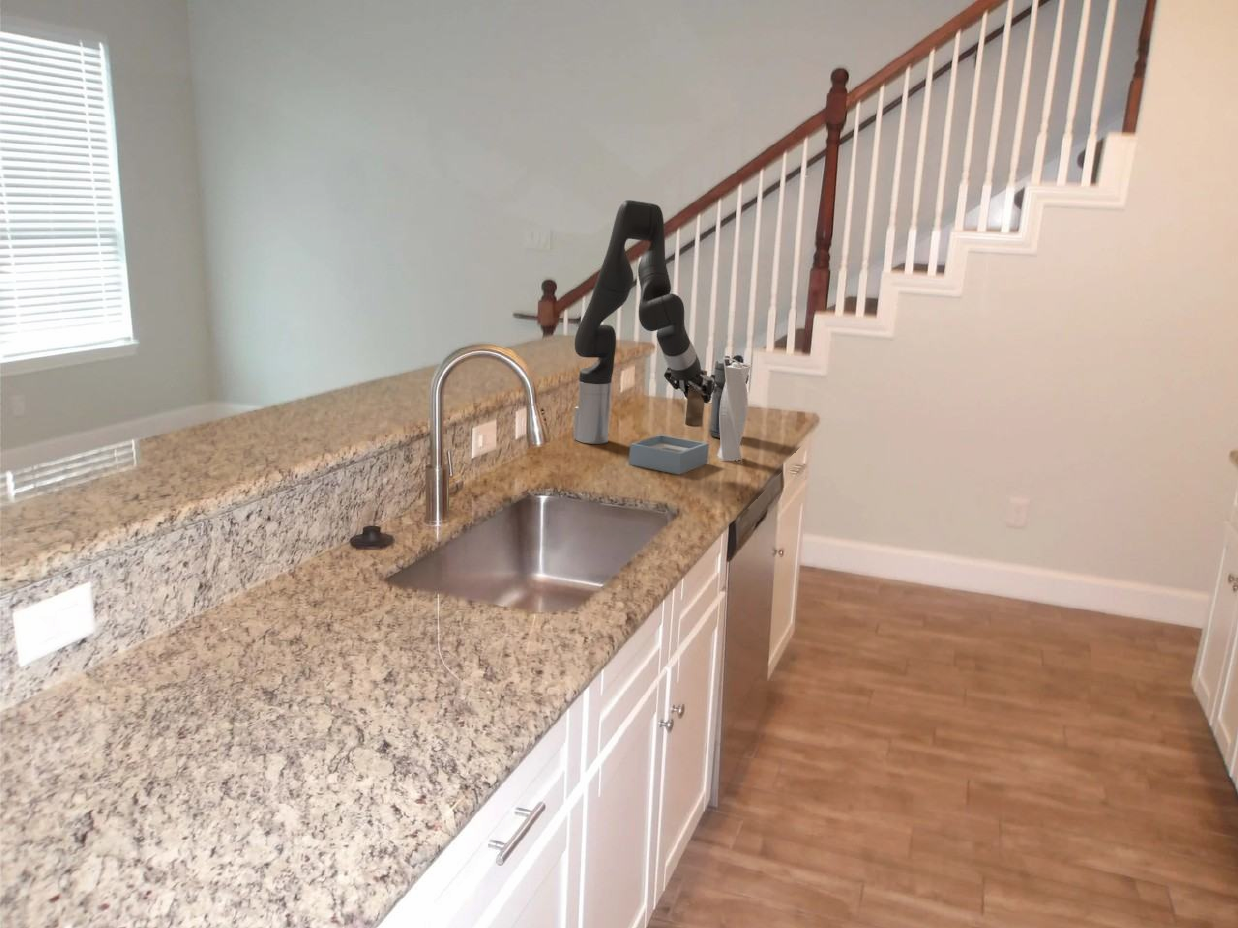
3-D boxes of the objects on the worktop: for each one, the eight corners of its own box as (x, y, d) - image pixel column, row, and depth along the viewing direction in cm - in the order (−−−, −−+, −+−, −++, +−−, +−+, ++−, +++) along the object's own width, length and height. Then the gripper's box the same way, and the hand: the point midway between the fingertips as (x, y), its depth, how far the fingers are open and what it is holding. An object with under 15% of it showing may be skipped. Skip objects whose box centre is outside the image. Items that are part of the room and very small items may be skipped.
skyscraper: (719, 462, 263) (728, 359, 256) (710, 455, 270) (718, 355, 263) (747, 462, 265) (756, 360, 258) (736, 455, 272) (745, 355, 265)
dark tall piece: (749, 435, 299) (757, 354, 293) (734, 442, 288) (742, 358, 282) (718, 430, 304) (725, 350, 298) (703, 437, 292) (709, 354, 286)
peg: (682, 424, 249) (686, 370, 245) (690, 421, 253) (694, 368, 249) (697, 427, 247) (702, 373, 243) (705, 424, 250) (710, 371, 247)
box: (628, 464, 255) (630, 443, 254) (658, 453, 269) (660, 434, 267) (679, 474, 248) (680, 453, 247) (707, 463, 261) (708, 443, 260)
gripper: (713, 349, 234) (729, 392, 248) (661, 341, 241) (680, 383, 255) (701, 373, 231) (718, 415, 245) (649, 365, 238) (669, 406, 252)
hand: (699, 398), depth 250 cm, fingers closed on peg, 4 cm apart
